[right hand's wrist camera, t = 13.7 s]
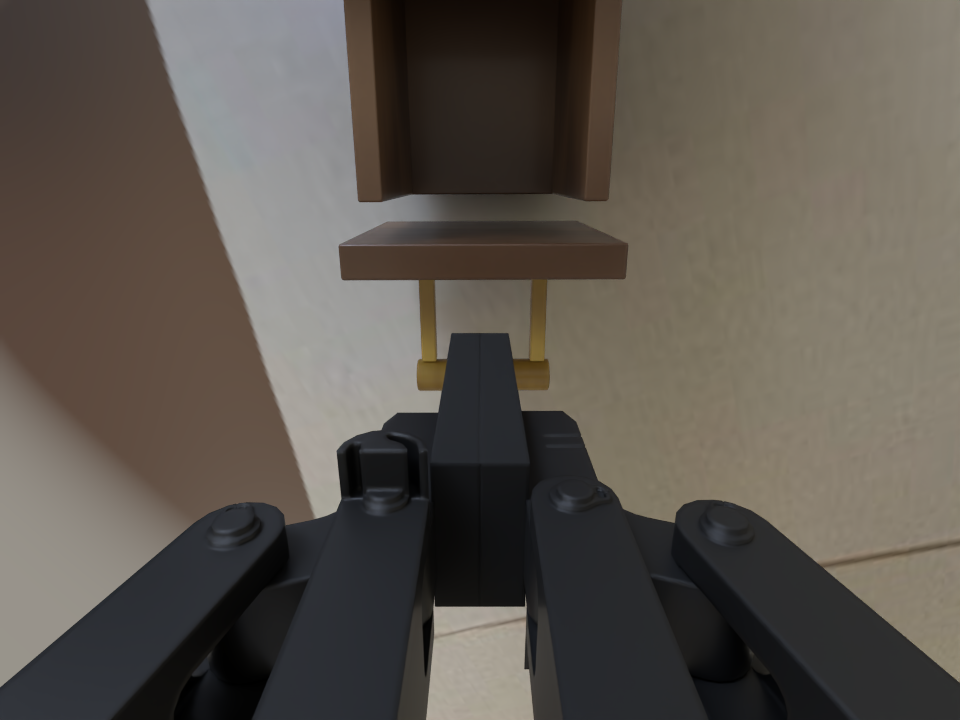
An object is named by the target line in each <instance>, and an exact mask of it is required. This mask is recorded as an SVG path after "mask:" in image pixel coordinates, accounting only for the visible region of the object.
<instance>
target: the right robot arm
mask: <svg viewBox="0 0 960 720" xmlns="http://www.w3.org/2000/svg"><path fill="white" fill-rule="evenodd" d="M337 459H338V469H339V479H340V488H341V498H342V499H341V502H340V504H339V507H338V509H337V512H335V513H332V514H330V515H328V516H325V517H321V518H318V519H314V520H310V521H305V522H301V523H295V524H290V525H286V526H285V519H284V514H283V513H282V512H281V511H280V510H279V509H278V508H277V507H274V506H272V505H269V504H265V503H251V502H246V503H239V504H233V505H229V506H226V507H224V508H221V509H219V510H216V511H214V512H211V513H209V514H207V515H206V516H204V517H203V518H201V519H200V520H198V521H197V522H195V523H194V524H192V525H191V526H190V527H189V528H188V529H187V530H185V531H184V532H183V533H182V534H181V535H180V536H178V537H177V538H176V539H175V540H174V541H172V542H171V543H170V544H169V545H168V546H167V547H165V548H164V549H163V550H162V551H161V552H159V553H158V554H157V555H156V556H155V557H154V558H152V559H151V560H150V561H149V562H148V563H147V564H145V565H144V566H143V567H142V568H141V569H139V570H138V571H137V572H136V573H135V574H133V575H132V576H131V577H130V578H129V579H128V580H126V581H125V582H124V583H123V584H122V585H121V586H119V587H118V588H117V589H116V590H115V591H113V592H112V593H111V594H110V595H109V596H108V597H106V598H105V599H104V600H103V601H102V602H100V603H99V604H98V605H97V606H96V607H95V608H93V609H92V610H91V611H90V612H89V613H88V614H86V615H85V616H84V617H83V618H82V619H80V620H79V621H78V622H77V623H76V624H74V625H73V626H72V627H71V628H70V629H69V630H67V631H66V632H65V633H64V634H63V635H62V636H60V637H59V638H58V639H57V640H56V641H54V642H53V643H52V644H51V645H50V646H49V647H47V648H46V649H45V650H44V651H43V652H41V653H40V654H39V655H38V656H37V657H36V658H34V659H33V660H32V661H31V662H30V663H29V664H27V665H26V666H25V667H24V668H23V669H21V670H20V671H19V672H18V673H17V674H16V675H14V676H13V677H12V678H11V679H10V680H8V681H7V682H6V683H5V684H4V685H3V686H1V687H0V720H426V715H427V704H428V693H429V683H430V672H431V662H432V651H433V640H434V615H433V606H434V596H435V607H525V593H526V603H527V615H526V641H525V668H524V669H529V671H530V682H531V693H532V703H533V714H534V720H960V683H959V682H958V681H957V680H956V679H954V678H953V677H952V676H951V675H950V674H949V673H947V672H946V671H945V670H944V669H943V668H941V667H940V666H939V665H938V664H937V663H935V662H934V661H933V660H932V659H931V658H929V657H928V656H927V655H926V654H925V653H924V652H922V651H921V650H920V649H919V648H918V647H916V646H915V645H914V644H913V643H912V642H910V641H909V640H908V639H907V638H906V637H904V636H903V635H902V634H901V633H900V632H899V631H897V630H896V629H895V628H894V627H893V626H891V625H890V624H889V623H888V622H887V621H885V620H884V619H883V618H882V617H881V616H879V615H878V614H877V613H876V612H875V611H874V610H872V609H871V608H870V607H869V606H868V605H866V604H865V603H864V602H863V601H862V600H860V599H859V598H858V597H857V596H856V595H855V594H853V593H852V592H851V591H850V590H849V589H847V588H846V587H845V586H844V585H843V584H841V583H840V582H839V581H838V580H837V579H835V578H834V577H833V576H832V575H831V574H830V573H828V572H827V571H826V570H825V569H824V568H822V567H821V566H820V565H819V564H818V563H816V562H815V561H814V560H813V559H812V558H810V557H809V556H808V555H807V554H806V553H805V552H803V551H802V550H801V549H800V548H799V547H797V546H796V545H795V544H794V543H793V542H791V541H790V540H789V539H788V538H787V537H785V536H784V535H783V534H782V533H781V532H780V531H778V530H777V529H776V528H775V527H774V526H772V525H771V524H770V523H769V522H768V521H766V520H765V519H763V518H762V517H760V516H759V515H757V514H756V513H754V512H753V511H751V510H748V509H746V508H743V507H741V506H738V505H736V504H733V503H730V502H726V501H724V502H723V501H719V500H696V501H693V502H690V503H687V504H684V505H683V506H682V507H681V508H680V509H679V510H678V511H677V512H676V519H675V523H672V522H667V521H662V520H657V519H652V518H647V517H644V516H640V515H636V514H633V513H631V512H629V511H626V510H624V509H623V508H622V506H621V503H620V501H619V498H618V497H617V496H616V494H615V493H614V492H613V490H612V489H611V488H609V487H608V486H606V485H604V484H603V483H601V482H600V481H598V479H597V477H596V474H595V471H594V469H593V466H592V463H591V461H590V458H589V455H588V453H587V450H586V448H585V444H584V442H583V439H582V437H581V434H580V431H579V428H578V426H577V423H576V421H574V420H573V419H572V418H571V417H569V416H568V415H567V414H566V413H564V412H563V411H521V406H520V400H519V394H518V388H517V382H516V376H515V370H514V364H513V358H512V352H511V346H510V340H509V334H508V333H452V334H451V340H450V346H449V352H448V358H447V364H446V370H445V376H444V382H443V388H442V394H441V400H440V406H439V412H438V413H397V414H396V415H394V416H393V417H392V418H391V419H389V420H388V421H387V422H386V423H384V425H383V428H382V430H380V431H371V432H368V433H364V434H361V435H357V436H355V437H353V438H351V439H349V440H348V441H346V442H344V443H343V444H342V445H341V446H340V448H339V449H338V450H337Z"/></svg>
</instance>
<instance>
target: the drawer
mask: <svg viewBox="0 0 960 720" xmlns="http://www.w3.org/2000/svg"><path fill="white" fill-rule="evenodd" d="M621 11H622V0H344V12H345V26H346V40H347V54H348V67H349V81H350V95H351V109H352V123H353V136H354V150H355V164H356V178H357V191H358V201H359V202H383V201H387V200H391V199H395V198H399V197H403V196H407V195H411V194H556V195H561V196H565V197H570V198H574V199H579V200H583V201H607V200H608V199H609V185H610V171H611V156H612V142H613V127H614V113H615V98H616V84H617V69H618V55H619V40H620V26H621ZM339 256H340V268H341V278H342V280H419V297H420V322H421V346H422V359H419V360H418V364H417V386H418V390H420V391H442V388H443V382H444V376H445V370H446V364H447V359H437V333H436V300H435V280H531V298H530V336H529V358H530V359H513V364H514V370H515V376H516V382H517V388H518V390H548V388H549V380H550V370H549V362H548V359H544V354H545V326H546V298H547V279H625V277H626V268H627V256H628V243H625V242H623V241H621V240H619V239H616V238H614V237H612V236H610V235H607V234H605V233H603V232H601V231H598V230H596V229H594V228H592V227H589V226H587V225H585V224H583V223H580V222H578V221H441V222H386V223H384V224H382V225H379V226H377V227H375V228H373V229H371V230H369V231H367V232H365V233H363V234H361V235H359V236H356V237H354V238H352V239H350V240H348V241H346V242H344V243H342V244H340V245H339Z"/></svg>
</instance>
